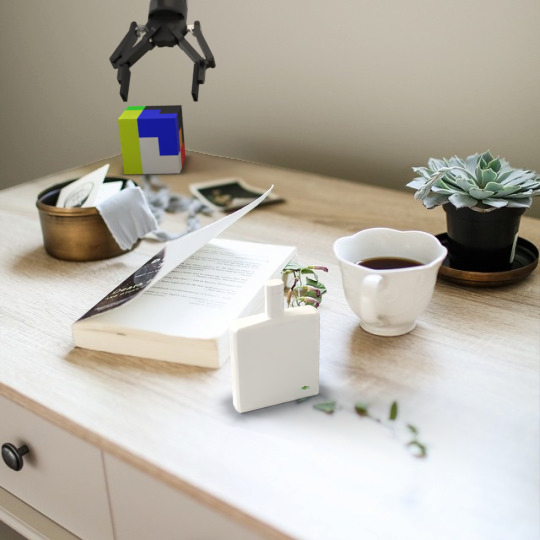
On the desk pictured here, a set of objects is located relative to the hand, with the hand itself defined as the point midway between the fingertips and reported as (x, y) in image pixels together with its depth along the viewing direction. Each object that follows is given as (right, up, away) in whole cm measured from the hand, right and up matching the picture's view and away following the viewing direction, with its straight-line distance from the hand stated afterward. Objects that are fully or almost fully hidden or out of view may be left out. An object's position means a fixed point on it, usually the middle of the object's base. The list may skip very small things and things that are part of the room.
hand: (158, 97), depth 126 cm
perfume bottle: (+21, -44, -64) cm, 81 cm away
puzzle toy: (0, -13, -1) cm, 13 cm away
